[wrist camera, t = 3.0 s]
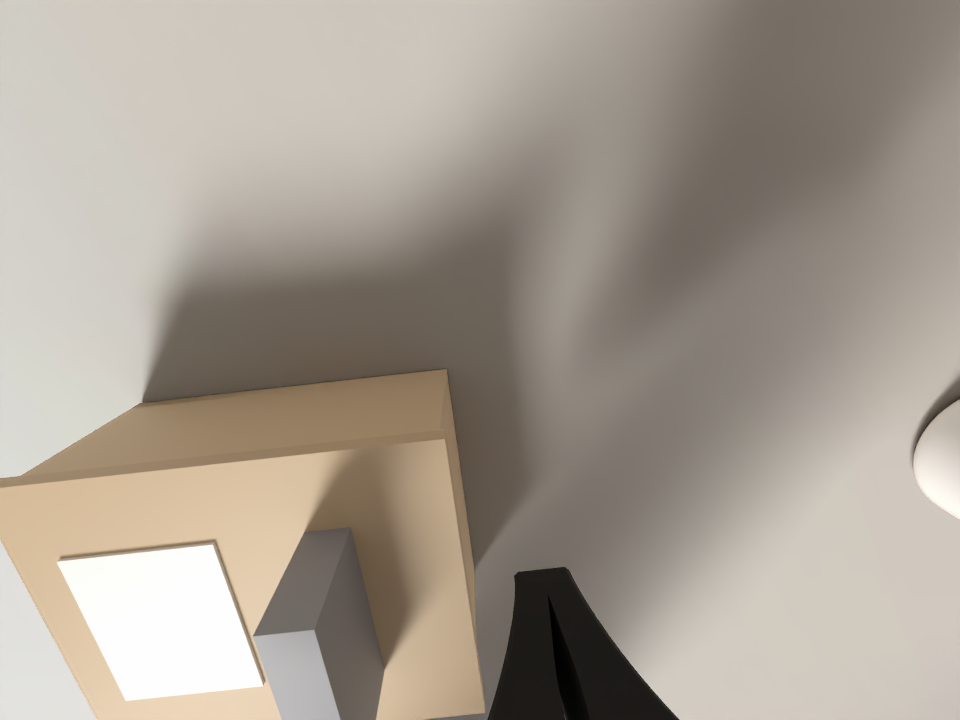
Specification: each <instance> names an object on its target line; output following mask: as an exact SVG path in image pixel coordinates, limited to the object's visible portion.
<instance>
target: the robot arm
mask: <svg viewBox="0 0 960 720" xmlns="http://www.w3.org/2000/svg"><path fill="white" fill-rule="evenodd" d="M514 577H515V601H514V611H513V619H512V625H511V630H510V636H509V641H508V647H507V651H506V655H505V660H504V664H503V668H502V672H501V676H500V680H499V684H498V687H497V691H496V694H495V698H494V701H493V704H492V707H491V710H490V713H489V717H488V720H565V718H566V720H679V719H678V718H677V717H676V716H675V715H674V714H673V712H672V711H671V710H670V709H669V708H668V707H667V706H666V705H665V704H664V703H663V702H662V700H661V699H660V698H659V697H658V696H657V695H656V694H655V693H654V691H653V690H652V689H651V688H650V687H649V686H648V684H647V683H646V682H645V681H644V680H643V679H642V677H641V676H640V675H639V674H638V673H637V671H636V670H635V669H634V668H633V666H632V665H631V664H630V662H629V661H628V660H627V659H626V657H625V656H624V655H623V654H622V652H621V651H620V650H619V648H618V647H617V646H616V644H615V643H614V642H613V640H612V639H611V637H610V636H609V635H608V633H607V632H606V630H605V629H604V627H603V626H602V625H601V623H600V622H599V620H598V619H597V617H596V616H595V614H594V613H593V611H592V610H591V608H590V607H589V605H588V603H587V602H586V600H585V599H584V597H583V595H582V594H581V592H580V590H579V588H578V587H577V585H576V583H575V581H574V579H573V577H572V575H571V573H570V571H569V570H568V569H567V568H565V567H560V568H551V569H542V570H532V571H523V572H518V573H517V574H516V575H515V576H514Z"/></svg>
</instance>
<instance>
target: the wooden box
mask: <svg viewBox="0 0 960 720" xmlns="http://www.w3.org/2000/svg"><path fill="white" fill-rule="evenodd" d="M444 429H446V435H447V442H448V449H449V456H450V462H451V469H452V476H453V483H454V490H455V497H456V504H457V510H458V517H459V524H460V531H461V538H462V545H463V552H464V559H465V565H466V572H467V579H468V586H469V593H470V600H471V607H472V614H473V620H474V627H475V634H476V609H475V570H474V563H473V556H472V548H471V541H470V534H469V527H468V520H467V512H466V505H465V498H464V491H463V483H462V476H461V469H460V462H459V455H458V447H457V440H456V433H455V426H454V418H453V411H452V404H451V397H450V390H449V382H448V375H447V369H442V370H433V371H424V372H415V373H406V374H397V375H388V376H379V377H370V378H361V379H352V380H343V381H334V382H325V383H316V384H307V385H298V386H289V387H280V388H271V389H262V390H253V391H244V392H235V393H226V394H217V395H208V396H199V397H190V398H181V399H172V400H163V401H154V402H145V403H140V404H138V405H136V406H135V407H133V408H132V409H130V410H128V411H127V412H125V413H123V414H122V415H120V416H118V417H117V418H115V419H113V420H112V421H110V422H109V423H107V424H105V425H104V426H102V427H100V428H99V429H97V430H95V431H94V432H92V433H90V434H89V435H87V436H85V437H84V438H82V439H81V440H79V441H77V442H76V443H74V444H72V445H71V446H69V447H67V448H66V449H64V450H62V451H61V452H59V453H58V454H56V455H54V456H53V457H51V458H49V459H48V460H46V461H44V462H43V463H41V464H39V465H38V466H36V467H34V468H33V469H31V470H30V471H28V472H26V473H25V474H23V475H21V476H27V475H36V474H45V473H54V472H63V471H72V470H81V469H90V468H99V467H108V466H117V465H127V464H136V463H145V462H154V461H163V460H172V459H181V458H190V457H199V456H208V455H217V454H226V453H235V452H244V451H254V450H263V449H272V448H281V447H290V446H299V445H308V444H317V443H326V442H335V441H344V440H353V439H362V438H371V437H381V436H390V435H399V434H408V433H417V432H426V431H435V430H444Z"/></svg>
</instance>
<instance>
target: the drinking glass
mask: <svg viewBox="0 0 960 720" xmlns="http://www.w3.org/2000/svg"><path fill="white" fill-rule="evenodd" d="M913 469H914V475H915V478H916V481H917V483H918V485H919V487H920V489H921V490H922V491H923V493H924V494H925V495H926V496H927V497H928V498H929V499H930V500H931V501H932V502H934V503H935V504H936V505H938V506H939V507H940V508H942V509H944V510H945V511H947V512H948V513H950V514H951V515H953V516H954V517H956V518H958V519H959V520H960V399H959V400H957V401H956V402H954V403H952V404H951V405H950V406H948V407H947V408H945V409H944V410H943V411H942V412H941V413H939V414H938V415H937V416H936V417H935V418H934V419H933V420H932V421H931V423H930V424H929V425H928V426H927V428H926V429H925V431H924V432H923V434H922V435H921V437H920V439H919V441H918V444H917V446H916V449H915V453H914V459H913Z"/></svg>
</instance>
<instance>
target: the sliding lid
mask: <svg viewBox="0 0 960 720" xmlns="http://www.w3.org/2000/svg"><path fill="white" fill-rule="evenodd" d="M0 540H1V542H2V544H3V546H4V547H5V549H6V551H7V553H8V555H9V557H10V559H11V560H12V562H13V564H14V566H15V568H16V570H17V572H18V573H19V575H20V577H21V579H22V581H23V583H24V585H25V587H26V588H27V590H28V592H29V594H30V596H31V598H32V600H33V601H34V603H35V605H36V607H37V609H38V611H39V613H40V614H41V616H42V618H43V620H44V622H45V624H46V626H47V628H48V629H49V631H50V633H51V635H52V637H53V639H54V641H55V642H56V644H57V646H58V648H59V650H60V652H61V654H62V656H63V657H64V659H65V661H66V663H67V665H68V667H69V669H70V670H71V672H72V674H73V676H74V678H75V680H76V682H77V683H78V685H79V687H80V689H81V691H82V693H83V695H84V697H85V698H86V700H87V702H88V704H89V706H90V708H91V710H92V711H93V713H94V715H95V717H96V719H97V720H424V719H434V718H443V717H452V716H462V715H471V714H480V713H485V696H484V689H483V682H482V675H481V668H480V662H479V655H478V648H477V641H476V634H475V627H474V620H473V614H472V607H471V600H470V593H469V586H468V579H467V572H466V565H465V559H464V552H463V545H462V538H461V531H460V524H459V517H458V510H457V504H456V497H455V490H454V483H453V476H452V469H451V462H450V456H449V449H448V442H447V435H446V429H444V430H435V431H426V432H417V433H408V434H399V435H390V436H381V437H371V438H362V439H353V440H344V441H335V442H326V443H317V444H308V445H299V446H290V447H281V448H272V449H263V450H254V451H244V452H235V453H226V454H217V455H208V456H199V457H190V458H181V459H172V460H163V461H154V462H145V463H136V464H127V465H117V466H108V467H99V468H90V469H81V470H72V471H63V472H54V473H45V474H36V475H27V476H18V477H9V478H0Z"/></svg>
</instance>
